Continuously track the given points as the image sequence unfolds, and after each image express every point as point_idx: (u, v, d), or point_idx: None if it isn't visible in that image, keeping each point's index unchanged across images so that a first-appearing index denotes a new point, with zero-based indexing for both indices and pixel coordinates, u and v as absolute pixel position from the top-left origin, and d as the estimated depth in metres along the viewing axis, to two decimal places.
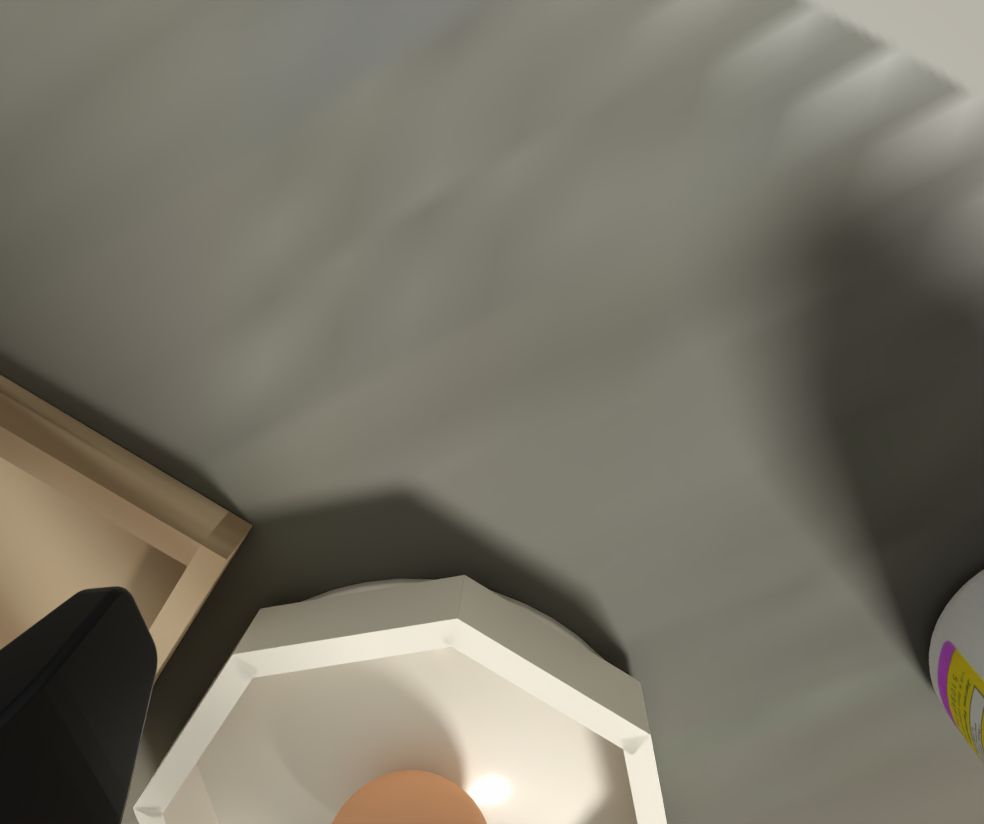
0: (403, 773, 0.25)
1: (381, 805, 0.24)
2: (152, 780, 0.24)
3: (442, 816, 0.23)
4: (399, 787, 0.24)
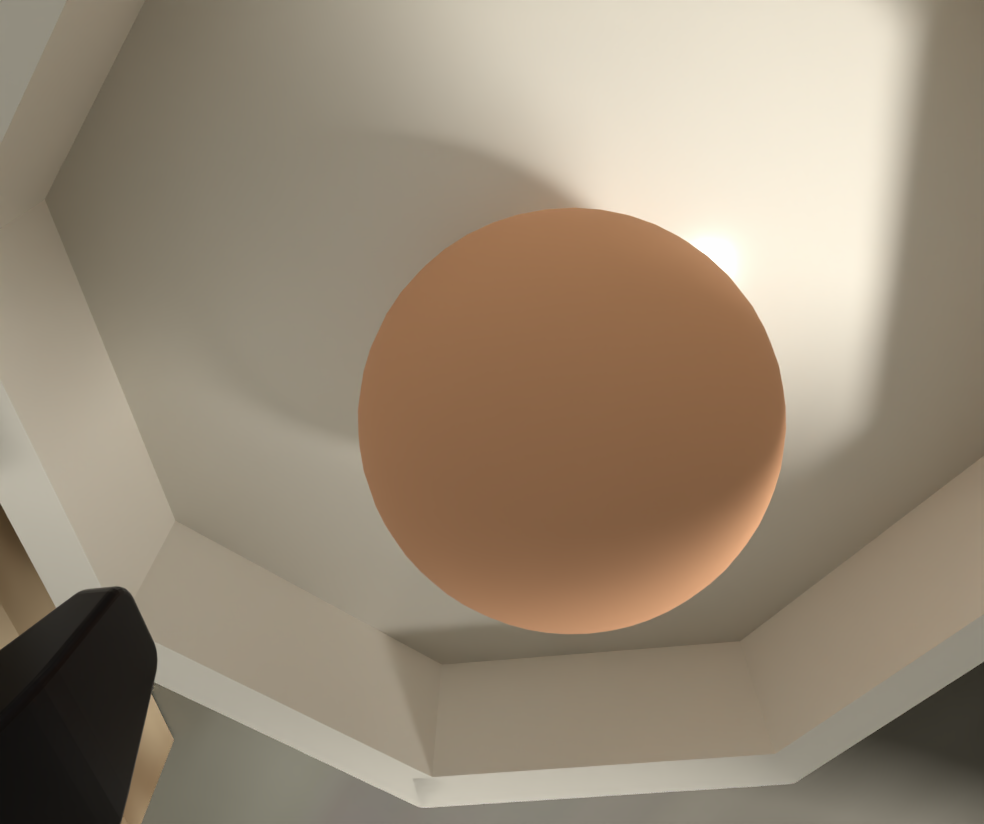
0: None
1: (389, 328, 0.09)
2: (45, 583, 0.12)
3: (520, 248, 0.09)
4: (415, 278, 0.10)
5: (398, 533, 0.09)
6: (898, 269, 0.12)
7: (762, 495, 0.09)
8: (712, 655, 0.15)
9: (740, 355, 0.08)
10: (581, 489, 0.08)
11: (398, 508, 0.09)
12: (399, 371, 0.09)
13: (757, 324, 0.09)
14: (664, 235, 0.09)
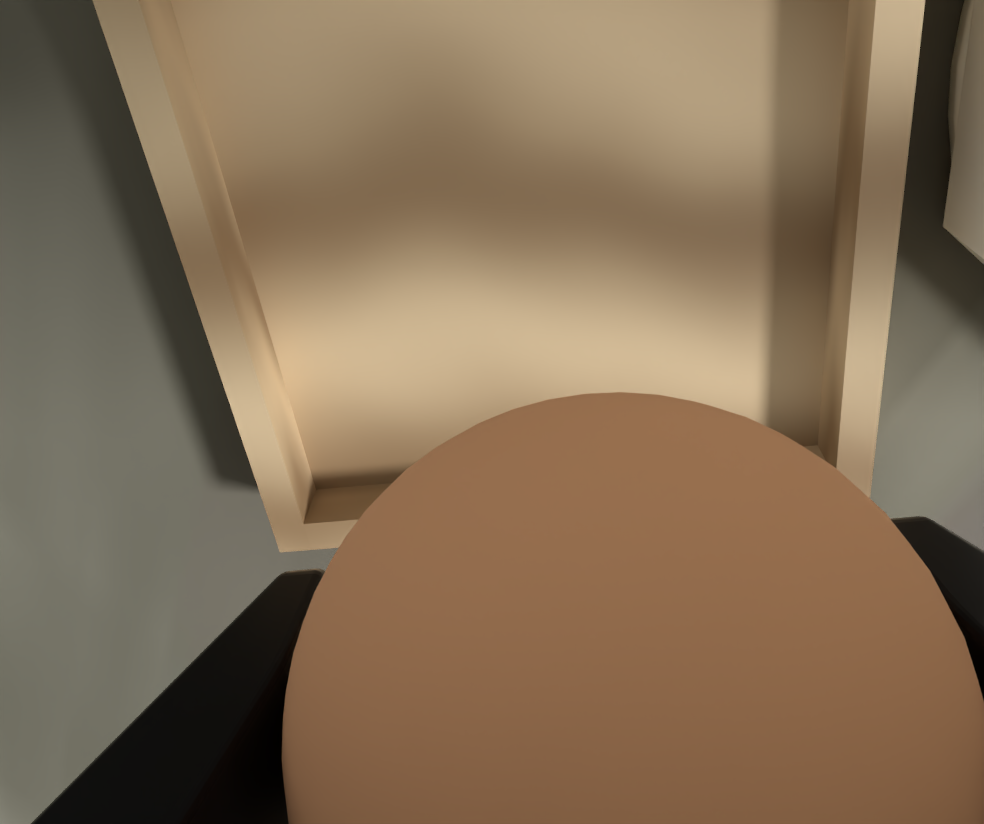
0: None
1: (327, 619, 0.06)
2: None
3: (551, 514, 0.05)
4: (373, 520, 0.06)
5: None
6: None
7: None
8: None
9: (945, 716, 0.05)
10: None
11: None
12: (338, 727, 0.05)
13: (951, 621, 0.05)
14: (792, 468, 0.05)
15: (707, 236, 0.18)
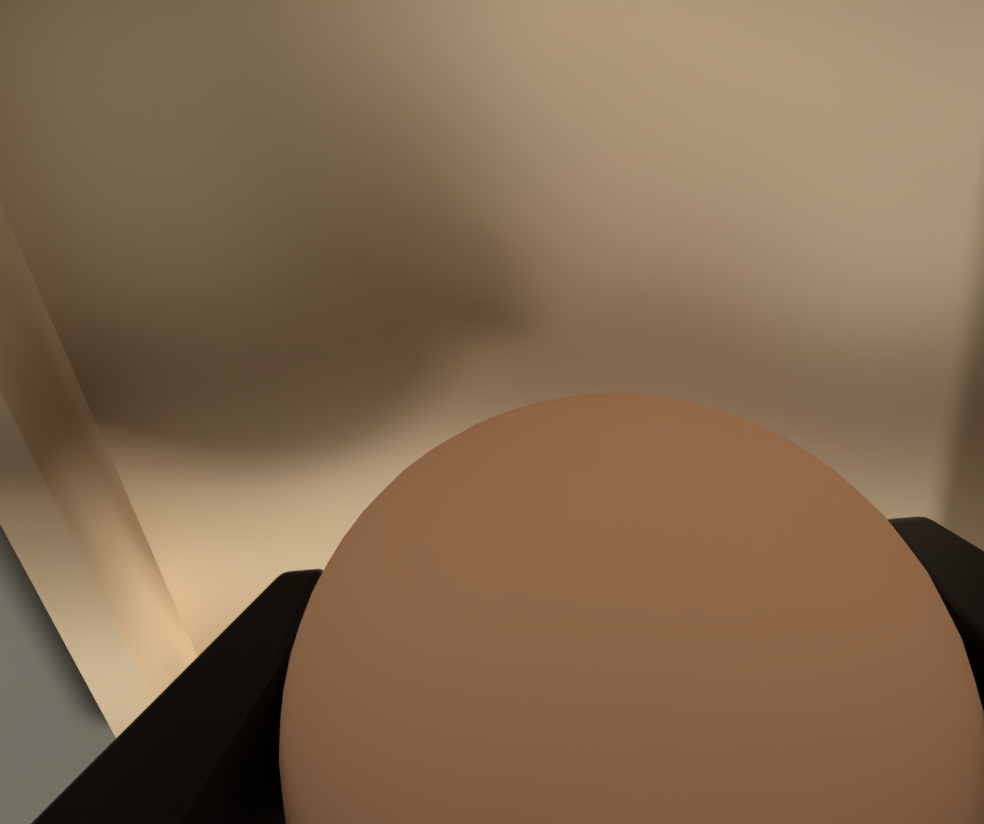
0: (402, 471, 0.07)
1: (324, 620, 0.06)
2: None
3: (547, 514, 0.05)
4: (370, 521, 0.06)
5: None
6: None
7: None
8: None
9: (942, 719, 0.05)
10: None
11: None
12: (335, 728, 0.05)
13: (948, 622, 0.05)
14: (789, 469, 0.05)
15: (855, 410, 0.11)
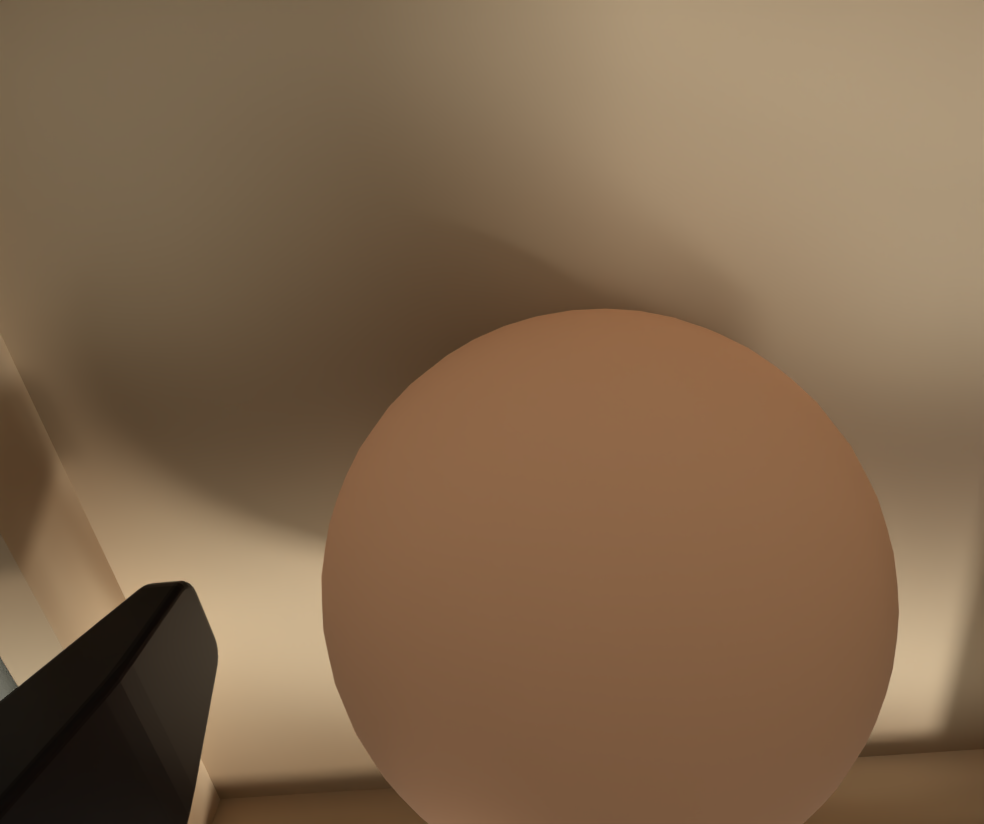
0: None
1: (361, 481, 0.07)
2: None
3: (540, 384, 0.06)
4: (397, 407, 0.07)
5: (373, 760, 0.07)
6: None
7: (875, 718, 0.06)
8: None
9: (850, 539, 0.06)
10: (631, 755, 0.05)
11: (372, 737, 0.06)
12: (373, 556, 0.06)
13: (863, 479, 0.07)
14: (736, 357, 0.07)
15: (888, 456, 0.10)
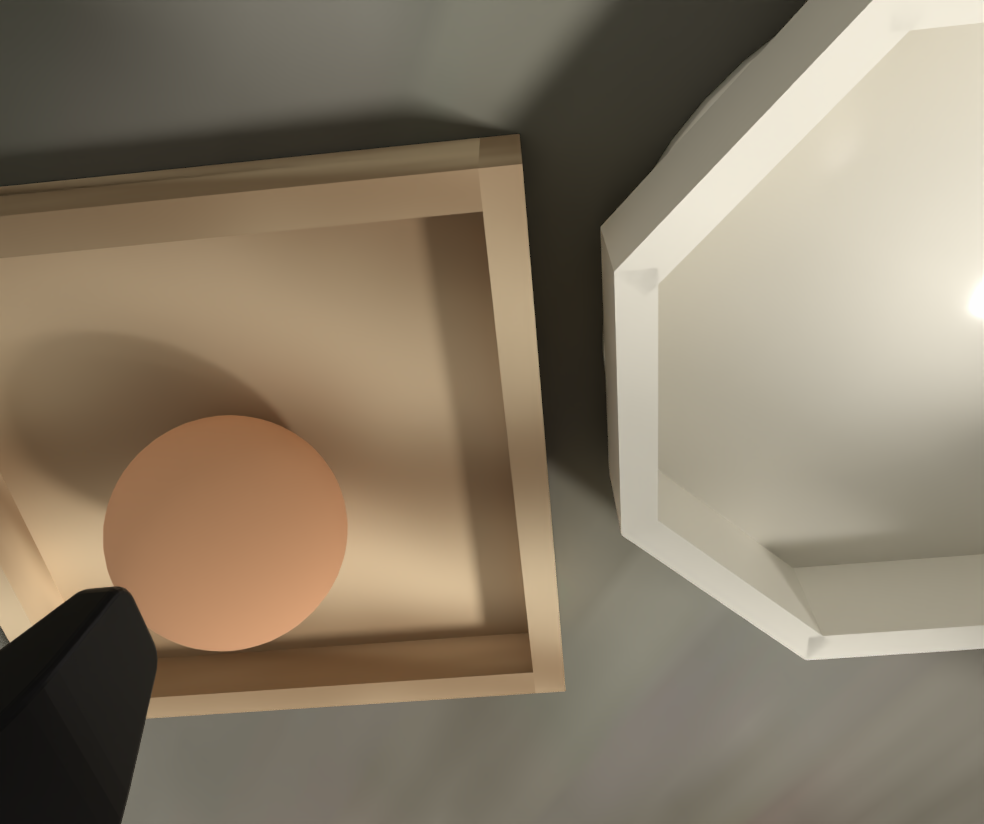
0: None
1: (115, 488, 0.17)
2: (622, 490, 0.18)
3: (175, 453, 0.17)
4: (134, 458, 0.18)
5: None
6: None
7: (308, 578, 0.17)
8: None
9: (285, 510, 0.17)
10: (191, 582, 0.16)
11: None
12: (113, 516, 0.17)
13: (310, 488, 0.17)
14: (262, 441, 0.17)
15: (409, 476, 0.21)
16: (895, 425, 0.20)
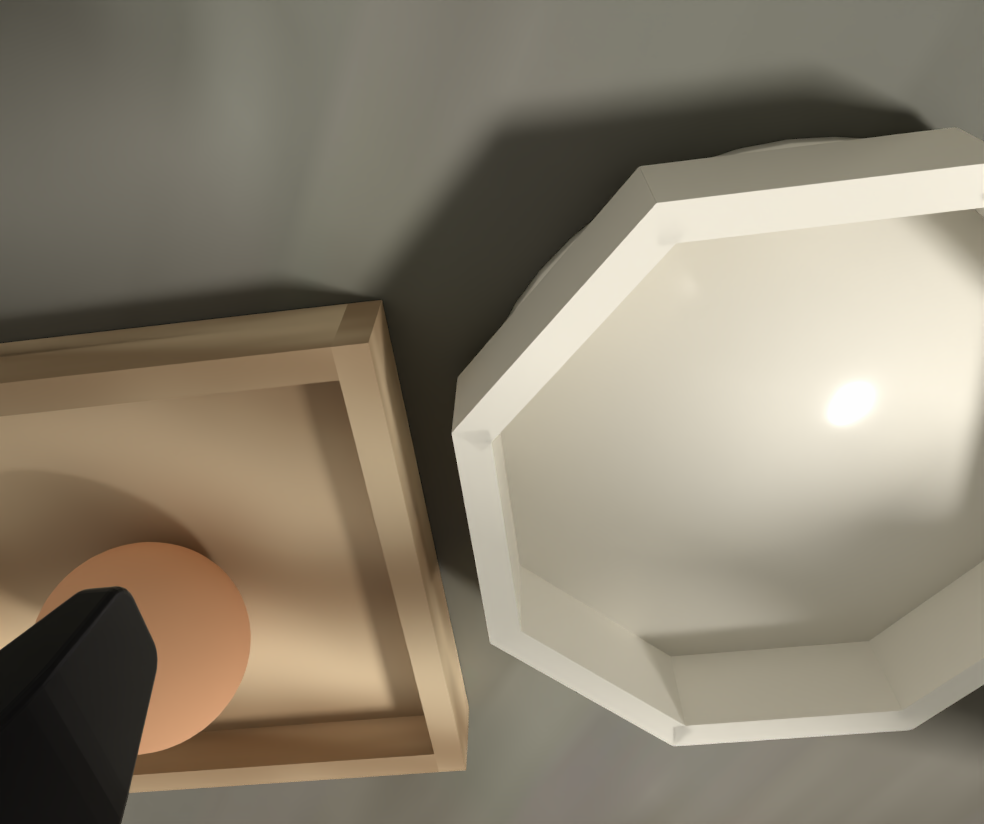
0: None
1: (38, 616, 0.20)
2: (485, 607, 0.20)
3: (87, 587, 0.19)
4: (56, 587, 0.20)
5: None
6: None
7: (207, 692, 0.20)
8: (852, 650, 0.24)
9: (183, 635, 0.19)
10: None
11: None
12: None
13: (208, 611, 0.20)
14: (164, 571, 0.20)
15: (312, 584, 0.23)
16: (745, 534, 0.22)
